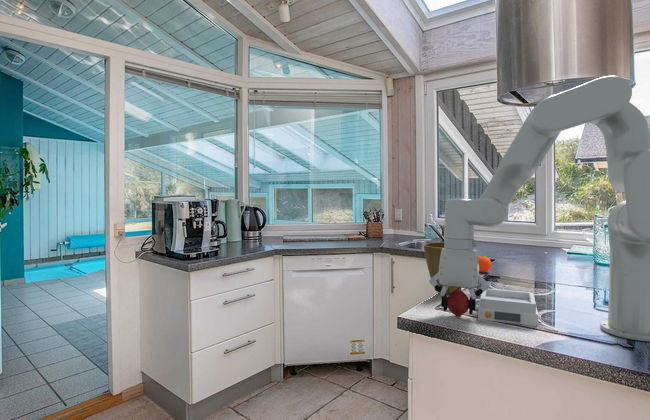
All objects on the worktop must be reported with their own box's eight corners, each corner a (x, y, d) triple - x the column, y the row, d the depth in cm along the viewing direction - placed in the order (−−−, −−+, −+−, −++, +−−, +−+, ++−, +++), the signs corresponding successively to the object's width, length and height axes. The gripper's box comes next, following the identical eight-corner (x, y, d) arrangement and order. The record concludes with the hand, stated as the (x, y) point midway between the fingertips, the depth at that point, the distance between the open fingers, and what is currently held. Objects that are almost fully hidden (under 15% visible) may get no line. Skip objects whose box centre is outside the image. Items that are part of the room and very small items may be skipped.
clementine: (482, 270, 173) (482, 253, 172) (496, 272, 167) (496, 255, 167) (470, 271, 168) (470, 255, 168) (484, 274, 163) (485, 257, 162)
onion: (455, 321, 103) (455, 290, 102) (442, 314, 108) (442, 285, 108) (474, 319, 104) (474, 289, 104) (460, 312, 110) (461, 284, 110)
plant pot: (434, 284, 145) (434, 240, 144) (475, 290, 136) (475, 244, 135) (415, 291, 134) (416, 244, 133) (459, 299, 124) (459, 248, 124)
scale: (534, 311, 111) (534, 292, 111) (538, 326, 98) (538, 305, 98) (481, 305, 117) (481, 287, 117) (477, 319, 104) (478, 299, 104)
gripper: (494, 244, 105) (493, 311, 106) (428, 241, 113) (428, 304, 113) (493, 248, 99) (492, 319, 99) (423, 244, 106) (423, 311, 106)
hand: (458, 310), depth 106 cm, fingers closed on onion, 5 cm apart
